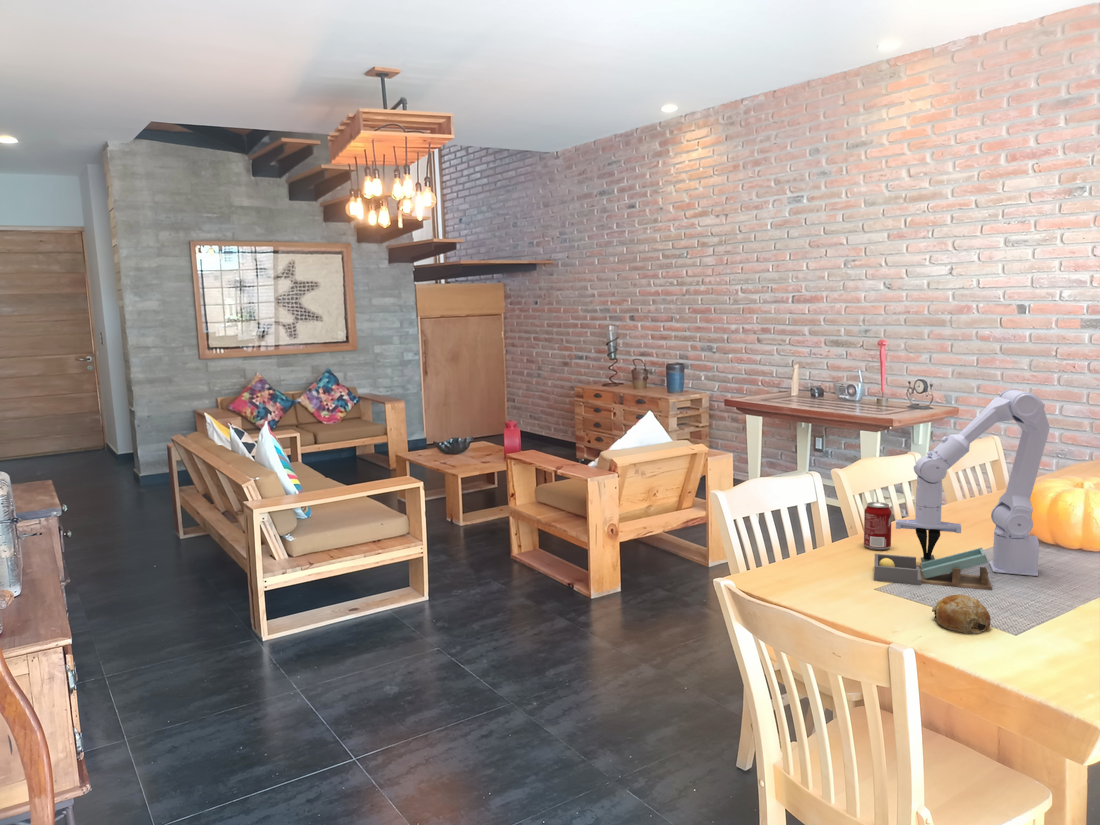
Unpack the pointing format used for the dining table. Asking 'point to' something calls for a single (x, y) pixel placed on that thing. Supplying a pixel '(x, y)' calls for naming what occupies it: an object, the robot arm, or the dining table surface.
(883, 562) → the ball
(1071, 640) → the dining table surface
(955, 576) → the base
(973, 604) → the bread roll
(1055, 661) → the dining table surface
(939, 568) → the lever
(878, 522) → the soda can
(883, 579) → the tray
